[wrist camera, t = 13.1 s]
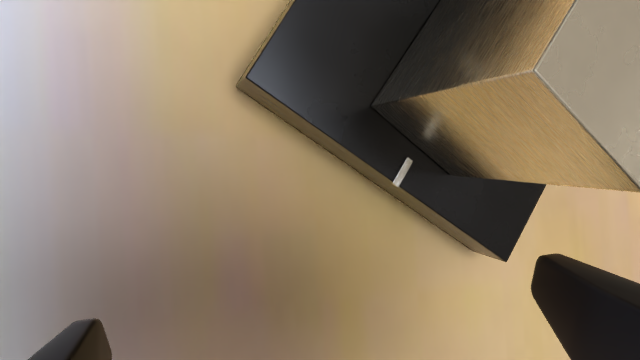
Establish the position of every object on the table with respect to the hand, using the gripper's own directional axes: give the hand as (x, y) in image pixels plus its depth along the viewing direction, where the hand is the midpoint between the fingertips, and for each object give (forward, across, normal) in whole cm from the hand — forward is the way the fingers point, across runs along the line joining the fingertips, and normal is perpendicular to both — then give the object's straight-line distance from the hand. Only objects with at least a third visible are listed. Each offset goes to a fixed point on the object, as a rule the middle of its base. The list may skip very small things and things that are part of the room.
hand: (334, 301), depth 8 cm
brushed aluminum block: (+12, -9, -3) cm, 15 cm away
